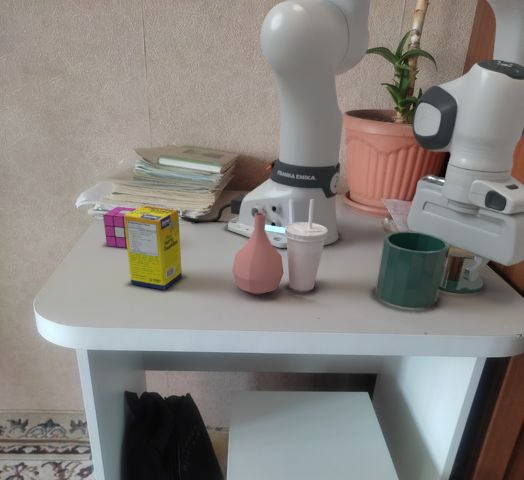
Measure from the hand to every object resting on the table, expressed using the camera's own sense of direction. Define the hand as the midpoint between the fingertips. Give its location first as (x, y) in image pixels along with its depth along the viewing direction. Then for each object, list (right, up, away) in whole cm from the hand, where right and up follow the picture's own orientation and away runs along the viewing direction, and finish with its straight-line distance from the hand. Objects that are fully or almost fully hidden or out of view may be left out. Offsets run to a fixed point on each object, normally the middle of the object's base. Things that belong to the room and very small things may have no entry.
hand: (453, 272), depth 84 cm
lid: (0, -1, +1) cm, 1 cm away
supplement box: (-48, -2, -2) cm, 48 cm away
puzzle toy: (-56, +7, +12) cm, 58 cm away
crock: (-9, -5, -4) cm, 11 cm away
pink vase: (-32, -4, -4) cm, 32 cm away
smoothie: (-25, -3, -3) cm, 25 cm away
